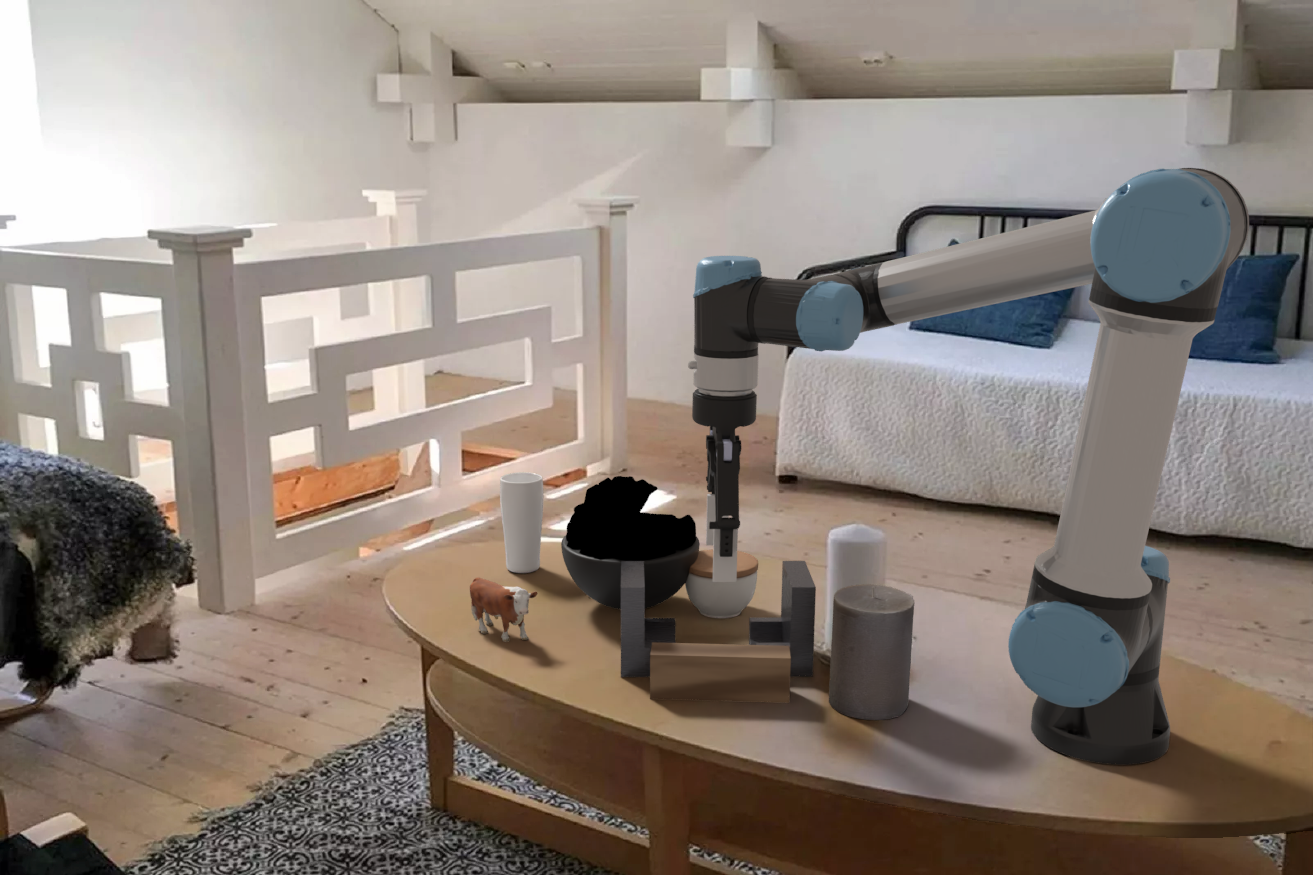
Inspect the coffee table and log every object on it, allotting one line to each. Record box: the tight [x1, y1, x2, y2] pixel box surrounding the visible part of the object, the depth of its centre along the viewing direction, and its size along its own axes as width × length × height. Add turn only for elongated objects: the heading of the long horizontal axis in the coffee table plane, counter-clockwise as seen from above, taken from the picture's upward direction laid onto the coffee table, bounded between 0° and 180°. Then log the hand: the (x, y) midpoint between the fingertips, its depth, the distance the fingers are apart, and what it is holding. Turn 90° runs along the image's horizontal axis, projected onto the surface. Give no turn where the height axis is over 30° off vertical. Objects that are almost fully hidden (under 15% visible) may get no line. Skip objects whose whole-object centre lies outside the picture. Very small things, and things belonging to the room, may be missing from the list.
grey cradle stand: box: [620, 560, 817, 678], centre depth 172 cm, size 10×24×12 cm, turn 91°
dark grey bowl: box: [560, 475, 701, 611], centre depth 191 cm, size 20×20×19 cm
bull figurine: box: [469, 577, 538, 643], centre depth 181 cm, size 4×13×8 cm, turn 41°
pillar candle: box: [828, 583, 915, 721], centre depth 159 cm, size 10×10×15 cm
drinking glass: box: [499, 471, 544, 574], centre depth 208 cm, size 7×7×15 cm
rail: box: [649, 642, 791, 704], centre depth 163 cm, size 4×17×6 cm, turn 87°
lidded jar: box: [684, 548, 759, 619], centre depth 190 cm, size 11×11×9 cm
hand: (720, 562), depth 159 cm, fingers open, 13 cm apart
